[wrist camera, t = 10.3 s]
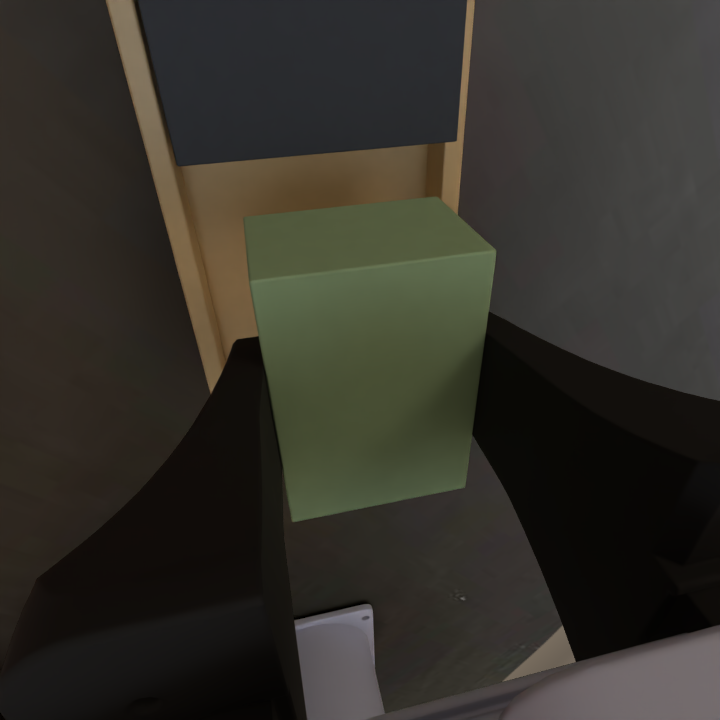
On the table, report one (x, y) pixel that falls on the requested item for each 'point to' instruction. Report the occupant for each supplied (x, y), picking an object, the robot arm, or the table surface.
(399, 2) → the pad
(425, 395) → the foam pad
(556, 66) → the table surface
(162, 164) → the frame
